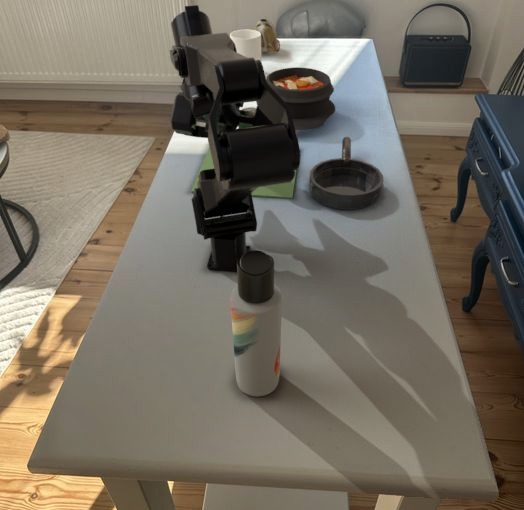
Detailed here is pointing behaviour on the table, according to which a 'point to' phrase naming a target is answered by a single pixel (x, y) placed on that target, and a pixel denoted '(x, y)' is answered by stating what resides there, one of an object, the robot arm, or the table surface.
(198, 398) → the table surface
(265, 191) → the napkin
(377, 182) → the pan
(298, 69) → the casserole
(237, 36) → the mug
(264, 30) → the ceramic sculpture
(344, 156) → the pan handle
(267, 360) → the lotion bottle
